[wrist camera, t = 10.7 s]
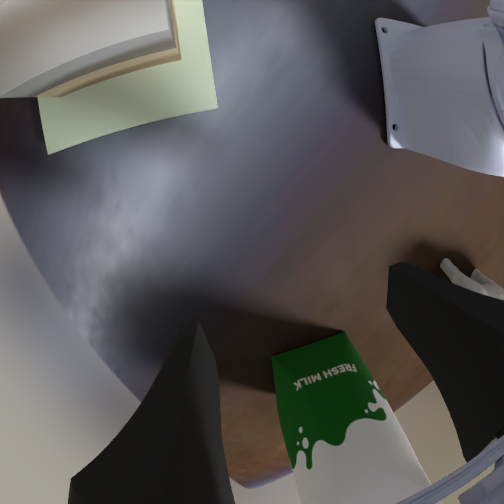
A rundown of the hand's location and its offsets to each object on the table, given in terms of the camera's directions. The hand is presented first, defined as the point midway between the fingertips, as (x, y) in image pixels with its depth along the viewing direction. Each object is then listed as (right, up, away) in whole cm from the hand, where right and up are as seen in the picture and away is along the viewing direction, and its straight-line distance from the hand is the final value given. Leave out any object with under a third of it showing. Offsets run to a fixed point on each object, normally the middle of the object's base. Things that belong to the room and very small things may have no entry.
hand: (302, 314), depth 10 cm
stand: (-10, +15, +2) cm, 18 cm away
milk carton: (+4, -9, +16) cm, 19 cm away
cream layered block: (-9, +13, +1) cm, 16 cm away
